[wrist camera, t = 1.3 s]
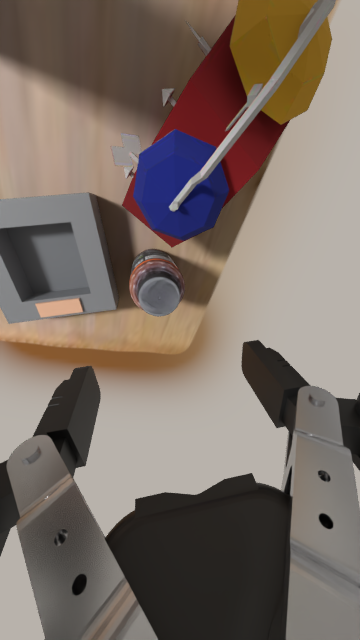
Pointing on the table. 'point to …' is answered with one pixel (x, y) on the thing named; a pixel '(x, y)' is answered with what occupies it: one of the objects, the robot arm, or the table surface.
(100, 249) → the socket holder
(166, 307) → the supplement bottle
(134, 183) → the alarm clock
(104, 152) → the table surface
